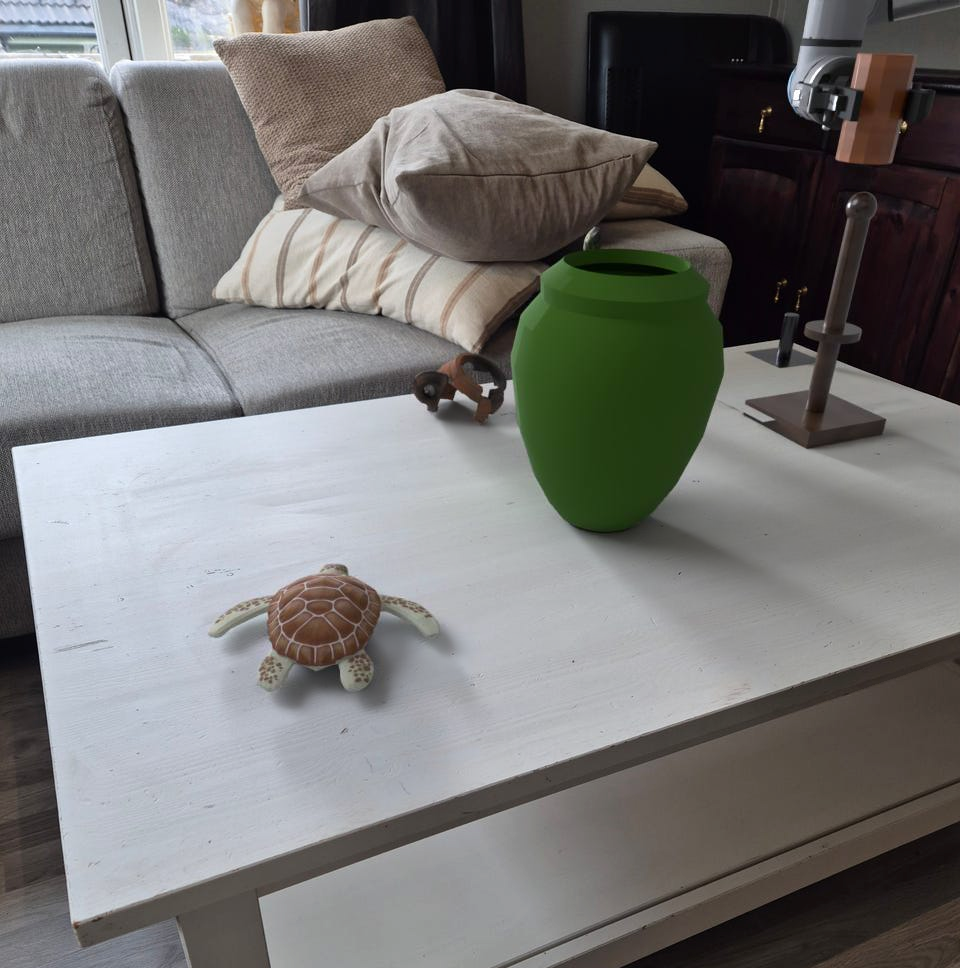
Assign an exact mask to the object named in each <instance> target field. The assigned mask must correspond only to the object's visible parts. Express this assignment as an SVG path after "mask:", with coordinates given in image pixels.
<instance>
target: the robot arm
mask: <svg viewBox="0 0 960 968" xmlns="http://www.w3.org/2000/svg"><path fill="white" fill-rule="evenodd" d="M957 8H960V0H808V4H807V11H806V15H805V16H806V17H805V22H804V29H803V33H802V39H801V43H800V45H799V46H800V47H799V51H798V58H797V63H796V66H795V67H794V69H793V71H792V72H791V74H790V76H789V80H788V84H787V98H788V101H789V103H790V106H791V107H792V109H793V110H794V112H795V113H796V114H797V115H799V116H800V117H801V118H804V119H805V120H807V121H813V122H815V123H817V124H819V125H821V126H822V127H821V129H822V130H823V131H825V132H826V131H829V130H834V131H841V130H842V125H843V120H844V119H845V120H848V121H853V122H857V121H858V117H859V112H860V108H861V103H862V98H863V94H864V91H861V90H857V89H853V88H850V87H851V82H852V78H853V73H854V68H855V63H856V59H857V54H858V53H861V50H862V46H863V39H864V34H865V29H867V28H871V27H876V26H880V25H885V24H886V25H887V24H890V23H893V22H896V21H897V22H898V21H903V20H906V19H911V18H916V17H920V16H925V15H930V14H934V13H939V12H943V11H947V10H952V9H957ZM922 85H923V82H912V83H911V87H910V91H909V95H908V100H907V104H906V108H905V112H904V116H903V120H902V121H906V122H910V123H912V124H918V125H919V124H920V125H921V124H923V123H924V119H926V118H929V117H930V115H931V110H932V108H933V107H932V106H933V103H934V100H935V95H936V90H933V89H932V88H931V89H930V88H927V89H925V88H922V87H923V86H922Z"/></svg>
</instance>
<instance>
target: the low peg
mask: <svg viewBox="0 0 960 968" xmlns="http://www.w3.org/2000/svg"><path fill="white" fill-rule="evenodd" d="M799 319H800V315H799V314H798V313H797V312H796V313H795V312H786V313H784V316H783V322H782V327H781V331H780V337H779V342H778V345H777V346H778V347H772V348H765V349H757V350H749V351H744V353H745V354H747V355H749V356H751V357H754V358H755V359H758V360H760V361H762V362H765V363H767V364H769V365H772V366H774V367H776V368H778V369H784V368H791V367H799V366H806V365H813V364H815V360H816V357H814V356H811V355H808V354H806V353H804V352H802V351H799V350H796V349H794V343H795V338H796V334H797V329H798V323H799Z"/></svg>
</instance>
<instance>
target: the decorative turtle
mask: <svg viewBox="0 0 960 968" xmlns="http://www.w3.org/2000/svg"><path fill="white" fill-rule="evenodd" d="M382 612H383V613H388V614H391V615H393V616H395V617H397V618H399V619H400V620H402V621H404V622H406V623H408V624H409V625H411V626H414V628H416V629H417V630H418V631H419V632H420V633H421V634H422V635H423V636H424V637H425V638H426V639H429V640H431V639H435V638H437V637H439V635H440V633H441V628H440V627H441V626H440V624H439V621H438V620H437V618H436V617H435V616H434V615H433V613H431V612H430V611H429V610H428V609H427V608H425V607H424V606H423V605H421V604H420V603H418V602H415V601H412V600H411V599H407V598H401V597H397V596H392V595H384V594H379V593H378V592H377V590H376V589H375V588H374V587H372V586H371V585H369V584H367V583H365V582H364V581H362V580H360V579H359V578H357V577H354V576H353V575H349V568H348V567H347V566H346V564H345V565H344V564H342V563H327V564H324V565H323V566H321V567H320V569H319V572H318V573H317V574H310V575H307V576H303V577H301V578H298V579H296V580H294V581H292V582H291V583H289V584H287V585H285V586H284V587H281V588H280V589H279V590H278V591H277V592H276V593H275V594H272V595H265V596H260V597H256V598H252V599H248V600H245V601H243V602H240V603H238V604H236V605H234V606H233V607H231V608H229V609H228V610H226V611H225V612H224V613H222V614H221V615H220V616H219V617H218V618H216V619H215V620H214V621H213V623H212V624H211V625H210V627H209V628H208V631H207V636H209V637H210V638H214V639H219V638H222V637H223V636H224V635H226V633H228V632H229V631H230V630H232V629H233V628H236V627H238V626H240V625H242V624H244V623H246V622H249V621H250V620H253V619H254V618H256V617H258V616H261V615H264V614H266V613H267V620H266V626H267V630H266V631H267V635H268V641H270V643H271V648H272V649H271V651H270V652H269V653H268V654H267V655H266V657H265V658H264V659H263V660H262V661H261V662H260V664H259V666H258V668H257V670H256V681H257V683H258V686H259V687H260V688H261V689H262V690H264V691H267V692H277V691H279V690H281V688H282V686H283V685H284V684H285V682H286V681H287V679H288V677H289V674H290V671H291V670H292V668H293V667H294V665H300V666H302V667H305V668H307V669H309V670H312V671H314V672H318V671H319V672H320V671H321V670H324V669H326V668H329V667H331V666H334V665H338V669H339V676H340V677H339V678H340V682H341V684H342V687H343V688H344V690H345V691H348V692H351V693H353V692H358V691H361V690H363V689H365V688H366V687H367V686H368V685H369V684H370V682H371V681H372V679H373V677H374V673H375V666H374V663H373V661H372V660H371V658H370V656H369V654H368V653H367V652H366V650H365V647H366V645H367V644H368V641H369V639H370V637H371V636H372V635H373V634H374V630H375V628H376V627H377V623H378V620H379V618H380V617H381V613H382Z"/></svg>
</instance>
